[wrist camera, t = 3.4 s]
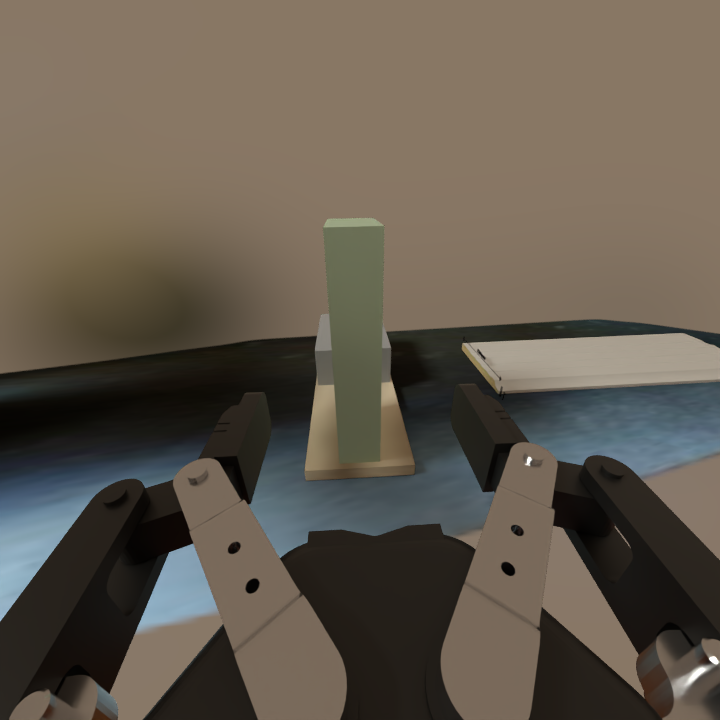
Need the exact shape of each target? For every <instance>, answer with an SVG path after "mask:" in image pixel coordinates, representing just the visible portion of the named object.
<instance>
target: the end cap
mask: <svg viewBox="0 0 720 720" xmlns="http://www.w3.org/2000/svg"><path fill="white" fill-rule="evenodd" d="M315 358H316V368H317V379H318V385H334V378H333V363H332V349H331V334H330V320H329V314H321V317H320V323H319V329H318V335H317V341H316V347H315ZM390 367H391V346H390V343H389V340H388V337H387V334H386V331H385V328H384V325H383V328H382V383H384V382H390Z"/></svg>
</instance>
